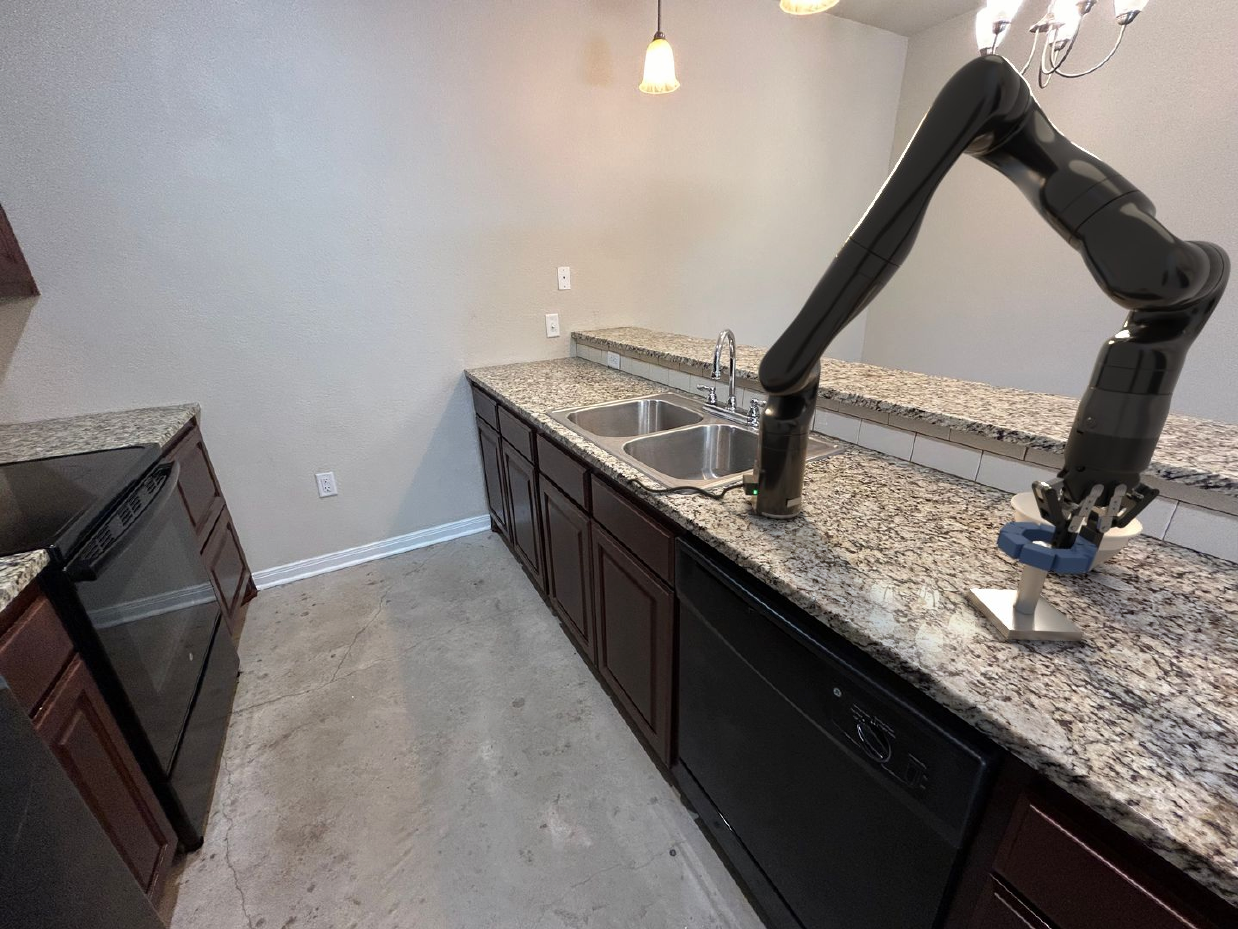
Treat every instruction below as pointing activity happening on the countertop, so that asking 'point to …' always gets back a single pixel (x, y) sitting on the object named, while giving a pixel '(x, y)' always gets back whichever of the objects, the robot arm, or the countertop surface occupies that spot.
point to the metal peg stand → (1025, 609)
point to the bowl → (1110, 541)
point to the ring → (1044, 548)
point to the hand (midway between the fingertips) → (1071, 553)
